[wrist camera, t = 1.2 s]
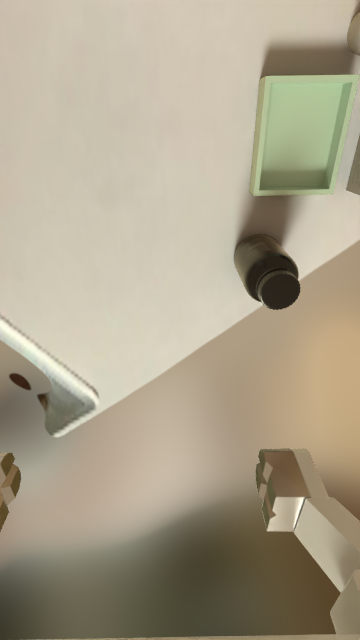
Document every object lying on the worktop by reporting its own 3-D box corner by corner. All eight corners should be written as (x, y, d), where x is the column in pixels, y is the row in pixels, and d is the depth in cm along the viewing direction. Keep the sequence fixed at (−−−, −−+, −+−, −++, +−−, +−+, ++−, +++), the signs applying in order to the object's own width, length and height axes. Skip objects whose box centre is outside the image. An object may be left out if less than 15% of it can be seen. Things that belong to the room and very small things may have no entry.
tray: (259, 79, 36) (266, 76, 34) (347, 77, 36) (359, 74, 34) (249, 191, 42) (253, 195, 40) (323, 190, 42) (332, 194, 40)
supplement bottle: (230, 276, 49) (246, 317, 38) (236, 232, 45) (254, 263, 35) (275, 277, 49) (302, 317, 39) (283, 233, 45) (316, 264, 35)
